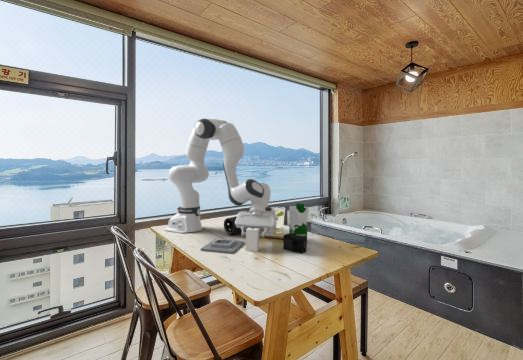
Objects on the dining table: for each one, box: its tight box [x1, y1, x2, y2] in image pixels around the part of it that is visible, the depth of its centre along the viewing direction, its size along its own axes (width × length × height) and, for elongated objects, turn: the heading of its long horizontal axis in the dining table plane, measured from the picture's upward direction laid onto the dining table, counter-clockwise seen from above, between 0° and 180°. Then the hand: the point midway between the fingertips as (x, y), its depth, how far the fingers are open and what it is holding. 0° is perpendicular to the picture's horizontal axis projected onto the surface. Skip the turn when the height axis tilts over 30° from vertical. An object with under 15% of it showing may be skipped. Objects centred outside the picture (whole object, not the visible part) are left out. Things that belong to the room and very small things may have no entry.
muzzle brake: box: [223, 216, 247, 236], centre depth 163 cm, size 10×28×10 cm, turn 136°
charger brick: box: [245, 227, 260, 252], centre depth 130 cm, size 6×4×10 cm
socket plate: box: [200, 238, 245, 255], centre depth 134 cm, size 16×16×2 cm
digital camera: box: [282, 232, 308, 255], centre depth 129 cm, size 10×5×7 cm, turn 50°
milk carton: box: [288, 202, 309, 238], centre depth 143 cm, size 9×9×20 cm
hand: (252, 236), depth 130 cm, fingers open, 8 cm apart
